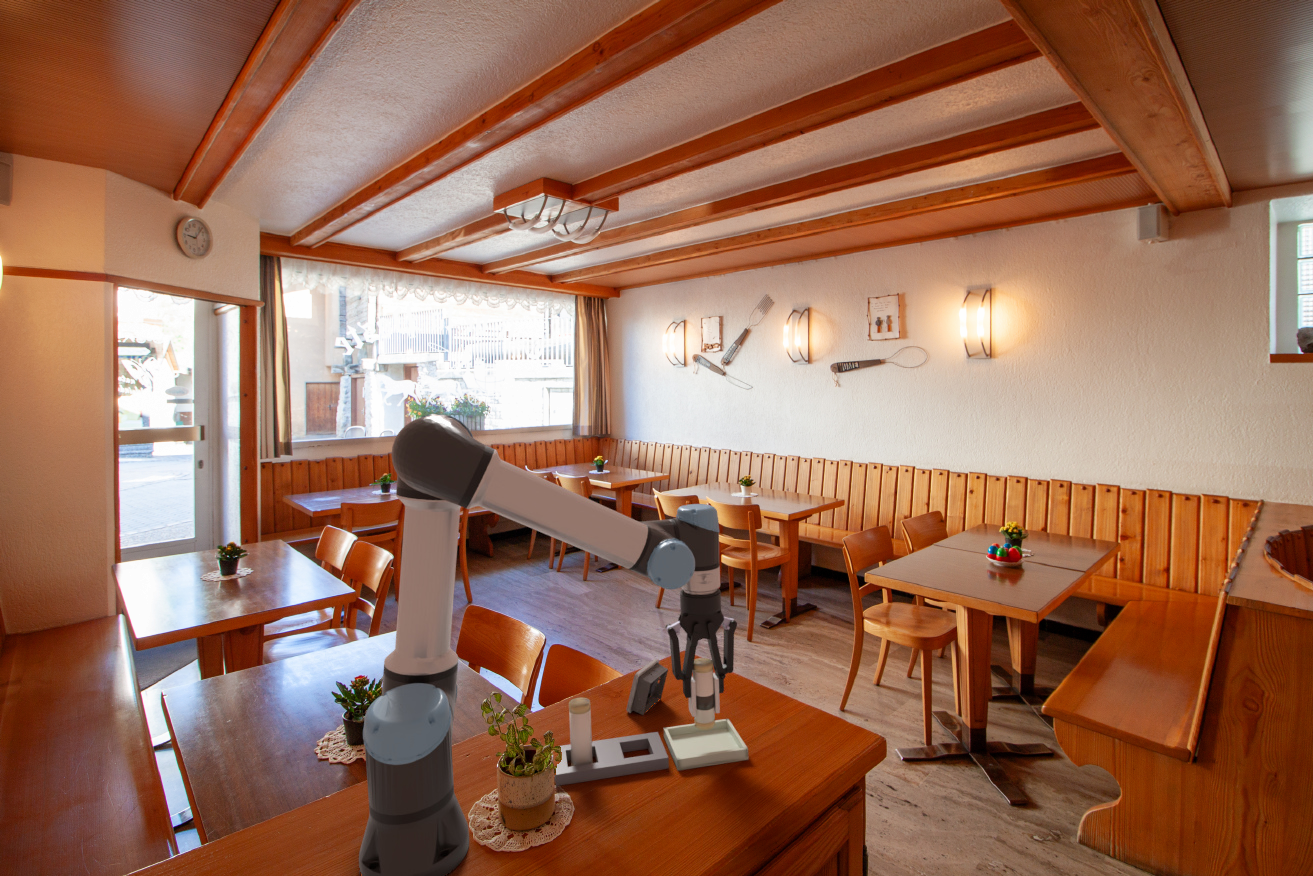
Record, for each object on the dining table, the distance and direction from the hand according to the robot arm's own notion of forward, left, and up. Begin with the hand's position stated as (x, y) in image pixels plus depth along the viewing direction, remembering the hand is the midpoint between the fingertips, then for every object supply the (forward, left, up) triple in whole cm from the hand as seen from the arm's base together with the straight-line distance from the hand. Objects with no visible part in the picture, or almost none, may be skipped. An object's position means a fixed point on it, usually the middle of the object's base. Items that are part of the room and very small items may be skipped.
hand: (704, 711), depth 119 cm
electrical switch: (-7, +19, -8) cm, 22 cm away
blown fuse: (0, 0, -3) cm, 3 cm away
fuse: (-23, 0, -7) cm, 24 cm away
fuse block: (-18, 0, -7) cm, 20 cm away
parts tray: (0, 0, -7) cm, 7 cm away
